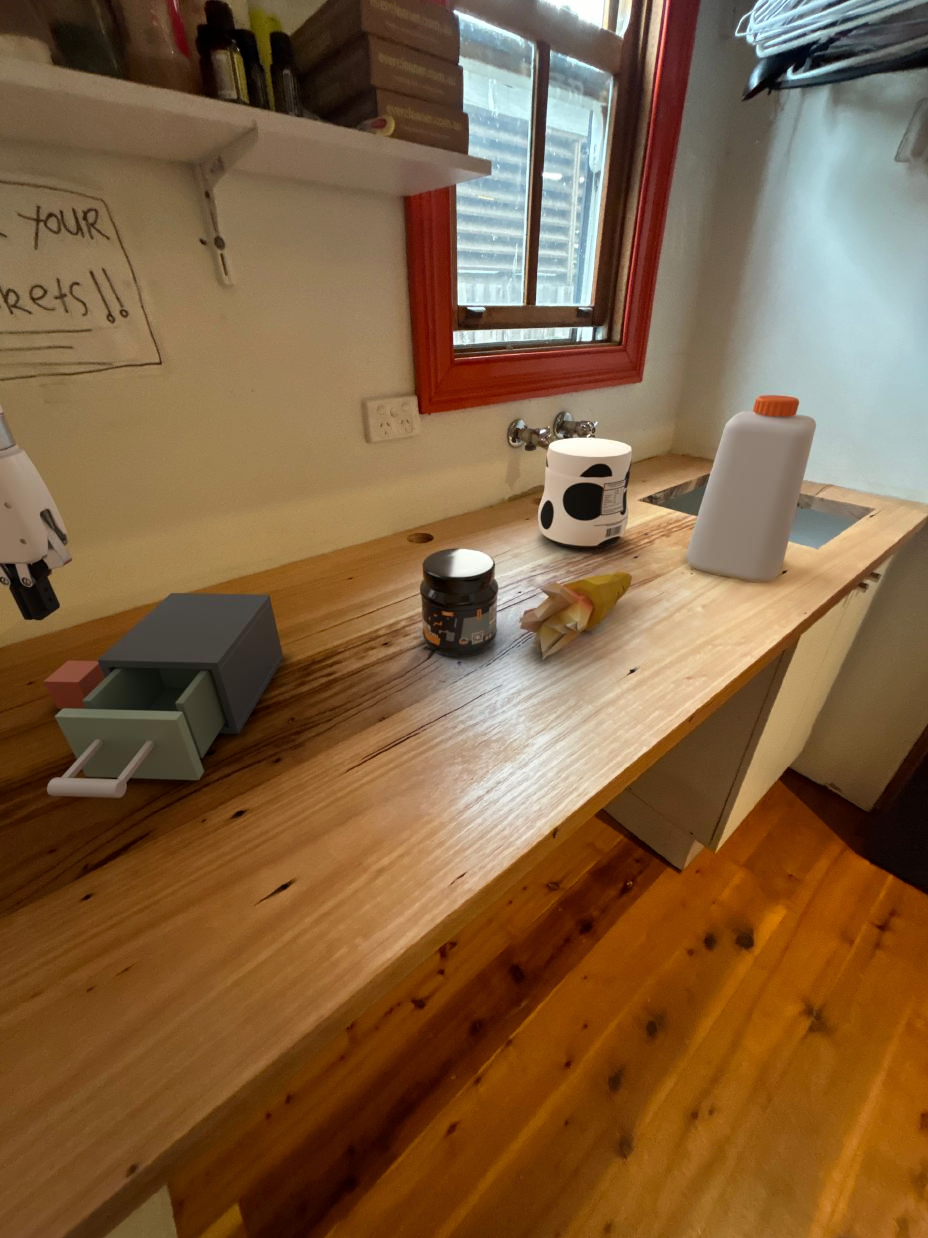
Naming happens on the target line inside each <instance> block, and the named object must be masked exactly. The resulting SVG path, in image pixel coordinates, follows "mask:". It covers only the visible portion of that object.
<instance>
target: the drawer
mask: <svg viewBox="0 0 928 1238" xmlns="http://www.w3.org/2000/svg"><path fill="white" fill-rule="evenodd" d="M83 703H84V705H85V707H86V709H68V708H63V709H60V710H59V712H58V713H57V714H56V715H54V719H55V721H56V722H57V724H58V726H59V728H60V730H61V732H62V734H63V736H64V738H65V739H66V741H67V743H68V745H69V747H70V749H71V750H72V752H73V755H74V756H75V759H76V760H75V761H74V763H73V764H72V765H71V766H70V767H69V768H68V769H67V770H66V772H65V773H64V774H63V775H62V776H61V777H58V776H57V777H53V778H52V779H50V780H49V782H48V784H47V786H46V787H47V788H46V792H47V794H48V795H49V796H52V797H74V798H75V797H77V798H104V799H106V798H108V799H109V798H110V799H120V798H122V797H124V795H125V794H126V792H127V789H128V785H127V784H128V783H127V782H129V780H130V779H145V780H146V779H147V780H151V779H152V780H175V781H200V779H201V777H202V776H203V774H204V773H205V770H204V767H203V764H202V762H201V759H203V758H204V756H205V755H206V753H207V752H208V751H209V749H210V748H211V745H213V743H214V742H215V739H216V738H217V736H218V735H219V734H220V733H219V731H220V730H221V728H222V727H223V725H224V724H225V722H226V720H227V718H226V715H225V712H224V709H223V706H222V702H221V699H220V696H219V693H218V689H217V686H216V683H215V680H214V677H213V673H212V669H171V668H128V667H116V668H115V669H114V670H113V671H112V672H111V673H110V674H109V675H108V676H107V677H106V678H105V679H104V680H103V681H102V682H101V683H100V684H99V685H98V686H97V687H96V688H95V689H94V690H93V691H92V692H91V693H90V694H89V695H88V696H87V697H86V698H85V699H83ZM81 770H82V772H83V773H84V775H85V777H87V778H84V777H83V778H82V777H76V776H77V775H78V774H79V773H80V771H81ZM88 777H89V778H88ZM90 777H91V778H90ZM112 778H113V779H112ZM114 778H116V779H114Z"/></svg>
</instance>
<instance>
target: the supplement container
mask: <svg viewBox="0 0 928 1238" xmlns="http://www.w3.org/2000/svg"><path fill="white" fill-rule="evenodd" d="M421 565H422V567H421V568H422V577H423V578H422V580H421V582H420V585H419V594H420V598H421V599H420V600H421V614H422V615H421V617H422V637H423V640H424V642H425V644H426V645H427V646H428V647H429V648H430V649H431V650H433V651H434V652H436V653H439V654H442V655H445V656H447V657H448V656H449V657H455V658H456V657H457V658H458V657H460V658H461V657H471V656H474V655H477V654H480V653H482V652H485V651H487V650H488V649H489V648H490V647H492V645H493V644H494V643H495V641H496V639H497V634H498V628H497V627H498V626H497V623H498V622H497V620H498V594H499V584H498V581H497V579H496V578H495V576H496V561H495V560H494V559H493V557H492V556H491V555H489V554H488V553H486V552H483V551H481V550H478V549H472V548H459V547H458V548H457V547H455V548H448V549H442V550H438V551H435V552H433V553H431V554H429V555H428V556H426V558H425V559H424V560H423V561H422V564H421Z"/></svg>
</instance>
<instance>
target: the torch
mask: <svg viewBox="0 0 928 1238" xmlns="http://www.w3.org/2000/svg"><path fill="white" fill-rule="evenodd" d="M632 580H633V577H632V575H631V574H630V573H629V572H626V571H622V570H618V571H615V572H613V573H607V574H598V575H597V574H596V575H591V576H588V577H584V578H580V579H577V580H573V581H569V582H566V583H563V584H561V583H559V582H557V581H554V582H552V583H549V584H546V585H544V586H541V587H539V590H540V591H541V592H542V593H544V595H546V596H547V597H546V599H544V601H542V602H541V603H540V604H539V605H538V606H537V607H534V608H530V609H526V610H524V611H523V615H522V616H520V617H519V621H518V623H519V624H520V627H519V629H520V630H524V631H528V632H532V633H535V637H534V640H533V643H532V647H535V646H537V645H540V648H541V653H542V660H545V659H546V658H547V657H549V655H553V654H554V653H555V652H557V651H559V650H561V649H562V648H564V647H565V646H568V644H569V643H570V642H572V641H573V640H574V639H575V638H576V637H577V636H578V635H580V634H581V633H582V632H583V631H585V632H588V631H590V630H592V629H593V628H595V627H597V626H598V625H599V624H600V623H602V621H603V620H604V619H605V618H606V616H608V614H609V613H610V611H612V609H613V608H614V607H615V605H616V604H617V603H618V601H619V600H620V599H621V598H622V597H623V596H624V595H625V594H626V593H627V591H628V590H629V588H630V586H631V585H632Z"/></svg>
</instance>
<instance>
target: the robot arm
mask: <svg viewBox="0 0 928 1238" xmlns="http://www.w3.org/2000/svg"><path fill="white" fill-rule="evenodd" d="M68 544H69V536H68V532H67V529H66V526H65V522H64V520H63V518H62V516H61V513H60V512H59V509H58V506H57V504H56V503H55V500H54V499H53V497H52V495H51V492H50V491H49V489H48V487H47V485H46V483H45V481H44V480H43V478H42V476H41V475H40V472H39V470H38V469H37V468H36V466H35V465H34V463H33V462H32V460H31V459H30V457H29V456H28V454H27V452H26V451H25V449H20V447H19V445H18V443H17V440H16V438H15V435H14V433H13V431H12V428H11V426H10V423H9V421H8V419H7V417H6V413H5V412H4V408H3V407H2V404H1V403H0V585H2V586H3V587H8V589H9V592H10V594H11V595H12V597H13V599H14V601H15V604H16V605H17V608H18V609H19V612H20V614H21V615H22V617H23V620H25V621H33V620H34V621H43V620H44V619H46V618H47V617H49V616H51V615H52V614H53V613H54V612H56V611H57V610H60V607H61V604H60V601H59V598H58V596H57V595H56V592H55V590H54V588H53V586H52V583H51V581H50V579H49V576H51V575H52V574H53V570H55V569H58V568H63V567H64V566H66V565H68V564H69V563H71V562H72V561H73V557H72V555H71V554H70V552H69V550H68V548H67V547H66V546H68Z"/></svg>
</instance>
